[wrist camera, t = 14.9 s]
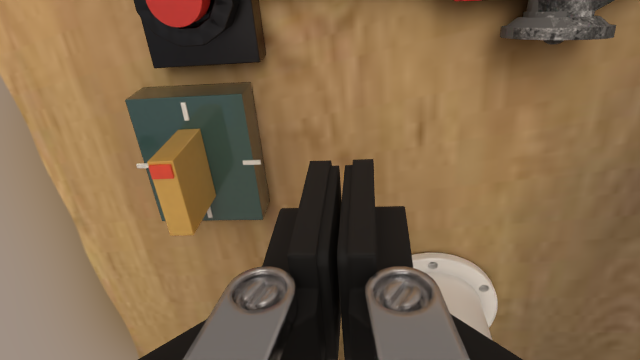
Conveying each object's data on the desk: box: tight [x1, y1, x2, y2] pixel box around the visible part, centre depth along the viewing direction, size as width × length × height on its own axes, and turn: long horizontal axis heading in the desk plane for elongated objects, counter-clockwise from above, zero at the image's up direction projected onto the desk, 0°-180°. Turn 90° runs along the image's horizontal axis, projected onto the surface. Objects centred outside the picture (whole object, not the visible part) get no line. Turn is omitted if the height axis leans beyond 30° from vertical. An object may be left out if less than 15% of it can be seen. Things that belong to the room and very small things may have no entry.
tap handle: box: [147, 129, 216, 236], centre depth 32 cm, size 6×2×6 cm, turn 5°
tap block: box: [125, 82, 270, 221], centre depth 36 cm, size 11×10×3 cm
